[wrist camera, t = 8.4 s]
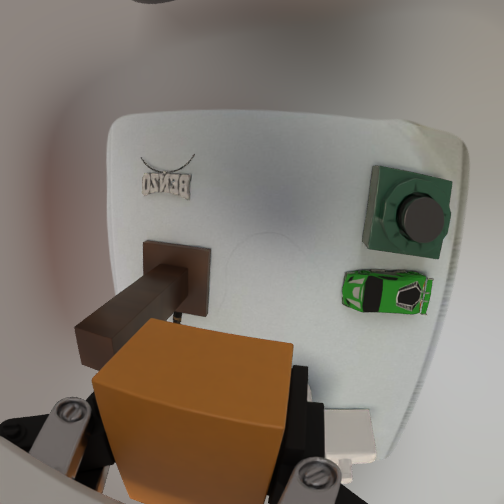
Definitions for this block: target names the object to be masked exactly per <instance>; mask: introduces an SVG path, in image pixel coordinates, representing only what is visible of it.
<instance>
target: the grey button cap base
mask: <svg viewBox="0 0 504 504" xmlns="http://www.w3.org/2000/svg"><path fill="white" fill-rule="evenodd" d="M451 189H452V181H449V180H444V179H440V178H436V177H432V176H427V175H423V174H418V173H414V172H409V171H404V170H399V169H394V168H389V167H383V166H373V167H372V176H371V184H370V192H369V199H368V206H367V213H366V219H365V226H364V232H363V238H362V242H363V243H364V245H365V246H366V247H367V249H372V250H379V251H386V252H393V253H399V254H406V255H413V256H420V257H426V258H433V259H439V256H440V251H441V247H442V242H443V239H444V237H445V236H446V235H447V233H448V228H449V223H450V217H451V211H450V208H449V203H450V197H451ZM414 195H421V196H425V197H428V198H431V199H433V200H435V201H436V202H437V203H438V204H439V205H440V206H441V208H442V210H443V213H444V226H443V229H442V231H441V233H440V234H439V236H438V237H437V238H436V239H434V240H433V241H431V242H428V243H419V242H416V241H414V240H413V239H411V238H410V237H408V236H407V235H406V234H405V233H404V232H403V231H402V230H401V228H400V226H399V223H398V212H399V208H400V206H401V204H402V203H403V202H404V201H405V200H406V199H407V198H409V197H411V196H414Z"/></svg>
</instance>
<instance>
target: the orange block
mask: <svg viewBox="0 0 504 504" xmlns="http://www.w3.org/2000/svg"><path fill="white" fill-rule="evenodd" d="M292 357H293V344H292V343H285V342H278V341H271V340H265V339H258V338H252V337H246V336H240V335H234V334H228V333H223V332H217V331H212V330H207V329H202V328H196V327H191V326H186V325H182V324H177V323H172V322H167V321H163V320H158V319H154V318H150V319H149V320H148V321H147V322H146V323H145V324H144V325H143V326H142V327H141V328H140V329H139V330H138V332H137V333H136V334H135V335H134V336H133V337H132V338H131V339H130V340H129V341H128V342H127V343H126V344H125V345H124V346H123V347H122V348H121V349H120V350H119V351H118V352H117V353H116V354H115V355H114V356H113V357H112V358H111V359H110V360H109V361H108V362H107V363H106V364H105V365H104V367H103V368H102V369H101V370H100V371H99V372H98V373H97V374H96V375H95V376H94V377H93V378H92V385H93V389H94V393H95V397H96V401H97V404H98V408H99V412H100V415H101V419H102V422H103V425H104V429H105V432H106V435H107V438H108V441H109V444H110V447H111V450H112V453H113V456H114V459H115V461H116V464H117V467H118V470H119V472H120V475H121V477H122V480H123V482H124V485H125V487H126V490H127V492H128V494H129V497H130V498H131V499H134V500H136V501H139V502H141V503H144V504H264V502H265V499H266V495H267V492H268V488H269V485H270V482H271V478H272V475H273V471H274V467H275V464H276V460H277V456H278V453H279V449H280V445H281V441H282V437H283V433H284V430H285V423H286V414H287V405H288V396H289V387H290V377H291V367H292Z"/></svg>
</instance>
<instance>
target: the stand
mask: <svg viewBox="0 0 504 504" xmlns="http://www.w3.org/2000/svg"><path fill="white" fill-rule="evenodd" d="M210 256H211V249H207V248H199V247H192V246H184V245H177V244H170V243H162V242H155V241H148V240H147V241H145V242H143V276H142V277H141V278H139V279H138V280H137V281H135V282H134V283H133V284H131V285H130V286H128V287H127V288H126V289H124V290H123V291H122V292H120V293H119V294H118V295H116V296H115V297H114V298H112V299H111V300H109V301H108V302H107V303H105V304H104V305H103V306H101V307H100V308H99V309H97V310H96V311H95V312H94V313H92V314H91V315H89V316H88V317H87V318H85V319H84V320H83V321H82V322H80V323H79V324H78V325H76V326H75V334H76V339H77V344H78V349H79V354H80V358H81V363H82V365H85V366H87V367H90V368H93V369H95V370H98V371H100V370H101V369H102V368H103V367H104V365H105V364H106V363H107V362H108V361H109V360H110V359H111V358H112V357H113V356H114V355H115V354H116V353H117V352H118V351H119V350H120V349H121V348H122V347H123V346H124V345H125V344H126V343H127V342H128V341H129V340H130V339H131V338H132V337H133V336H134V335H135V334H136V333H137V332H138V330H139V329H140V328H141V327H142V326H143V325H144V324H145V323H146V322H147V321H148V320H149V319H150V318H154V319H158V320H163V321H166V320H167V319H168V318H169V317H170V316H171V315H172V314H173V312H174V311H177V312H182V313H187V314H192V315H198V316H203V317H206V315H207V314H208V296H209V275H210Z"/></svg>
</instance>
